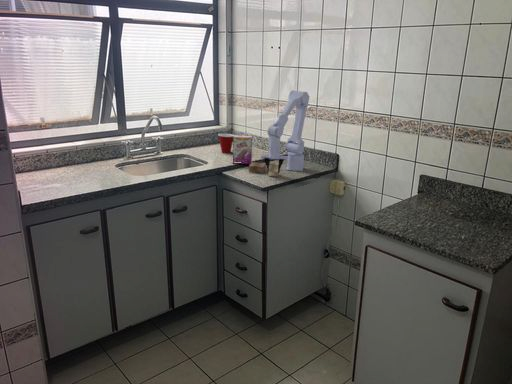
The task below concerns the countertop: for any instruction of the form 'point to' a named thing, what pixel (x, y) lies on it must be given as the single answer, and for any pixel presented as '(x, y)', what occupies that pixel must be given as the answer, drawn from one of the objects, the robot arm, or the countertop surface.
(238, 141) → the candy bar box
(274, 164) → the maple block
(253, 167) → the walnut block
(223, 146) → the plastic cup
